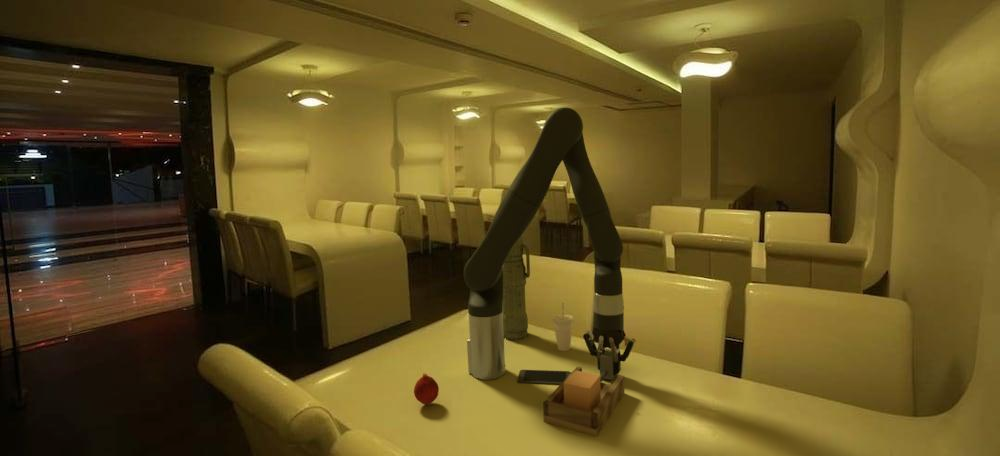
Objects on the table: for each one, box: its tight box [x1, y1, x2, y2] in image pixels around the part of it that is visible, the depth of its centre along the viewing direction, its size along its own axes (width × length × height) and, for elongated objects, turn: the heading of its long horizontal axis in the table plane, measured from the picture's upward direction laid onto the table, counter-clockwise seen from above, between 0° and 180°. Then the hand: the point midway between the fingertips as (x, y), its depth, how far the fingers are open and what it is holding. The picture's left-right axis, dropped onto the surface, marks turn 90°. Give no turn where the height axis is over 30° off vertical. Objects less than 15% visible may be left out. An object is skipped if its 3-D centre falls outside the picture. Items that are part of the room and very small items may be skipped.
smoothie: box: [552, 302, 575, 352], centre depth 139 cm, size 6×6×14 cm
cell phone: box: [516, 369, 572, 386], centre depth 121 cm, size 7×14×1 cm, turn 80°
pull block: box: [564, 348, 616, 412], centre depth 111 cm, size 25×6×7 cm, turn 149°
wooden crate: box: [542, 366, 625, 437], centre depth 105 cm, size 20×12×4 cm, turn 149°
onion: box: [413, 372, 440, 406], centre depth 109 cm, size 6×6×8 cm
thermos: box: [502, 235, 531, 341], centre depth 150 cm, size 9×12×35 cm
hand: (609, 372), depth 120 cm, fingers closed on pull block, 3 cm apart
